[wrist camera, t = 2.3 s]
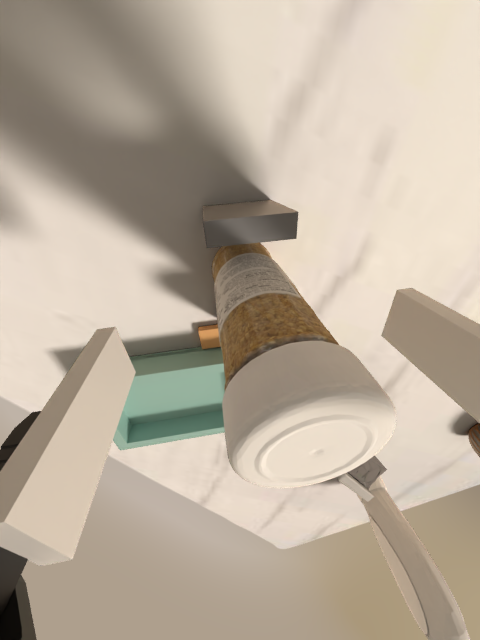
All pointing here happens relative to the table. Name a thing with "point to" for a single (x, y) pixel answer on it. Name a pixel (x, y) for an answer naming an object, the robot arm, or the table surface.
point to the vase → (475, 438)
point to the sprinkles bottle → (289, 380)
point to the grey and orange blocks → (244, 235)
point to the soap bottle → (414, 569)
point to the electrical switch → (363, 477)
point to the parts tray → (173, 398)
